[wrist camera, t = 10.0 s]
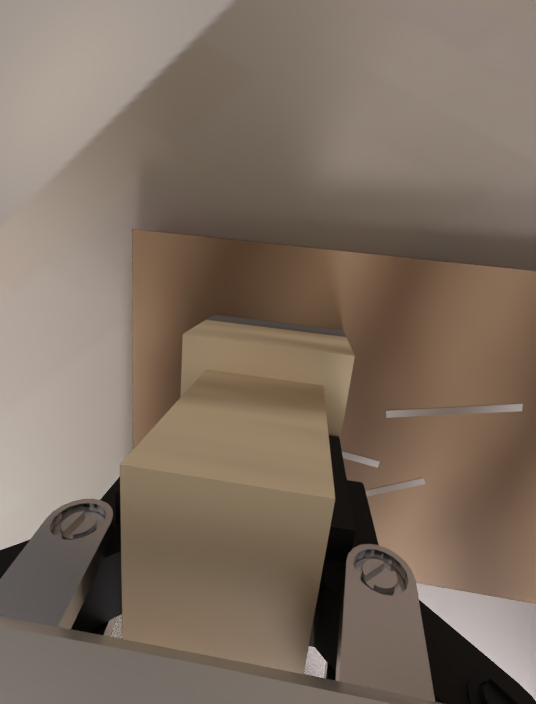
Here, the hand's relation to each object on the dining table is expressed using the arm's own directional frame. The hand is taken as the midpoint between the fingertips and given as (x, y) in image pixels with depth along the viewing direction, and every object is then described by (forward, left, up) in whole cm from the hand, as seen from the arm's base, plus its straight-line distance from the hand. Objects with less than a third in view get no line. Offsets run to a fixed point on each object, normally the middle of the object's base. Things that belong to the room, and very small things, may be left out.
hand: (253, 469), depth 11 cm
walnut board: (-4, 0, -6) cm, 7 cm away
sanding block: (0, 0, -4) cm, 4 cm away
